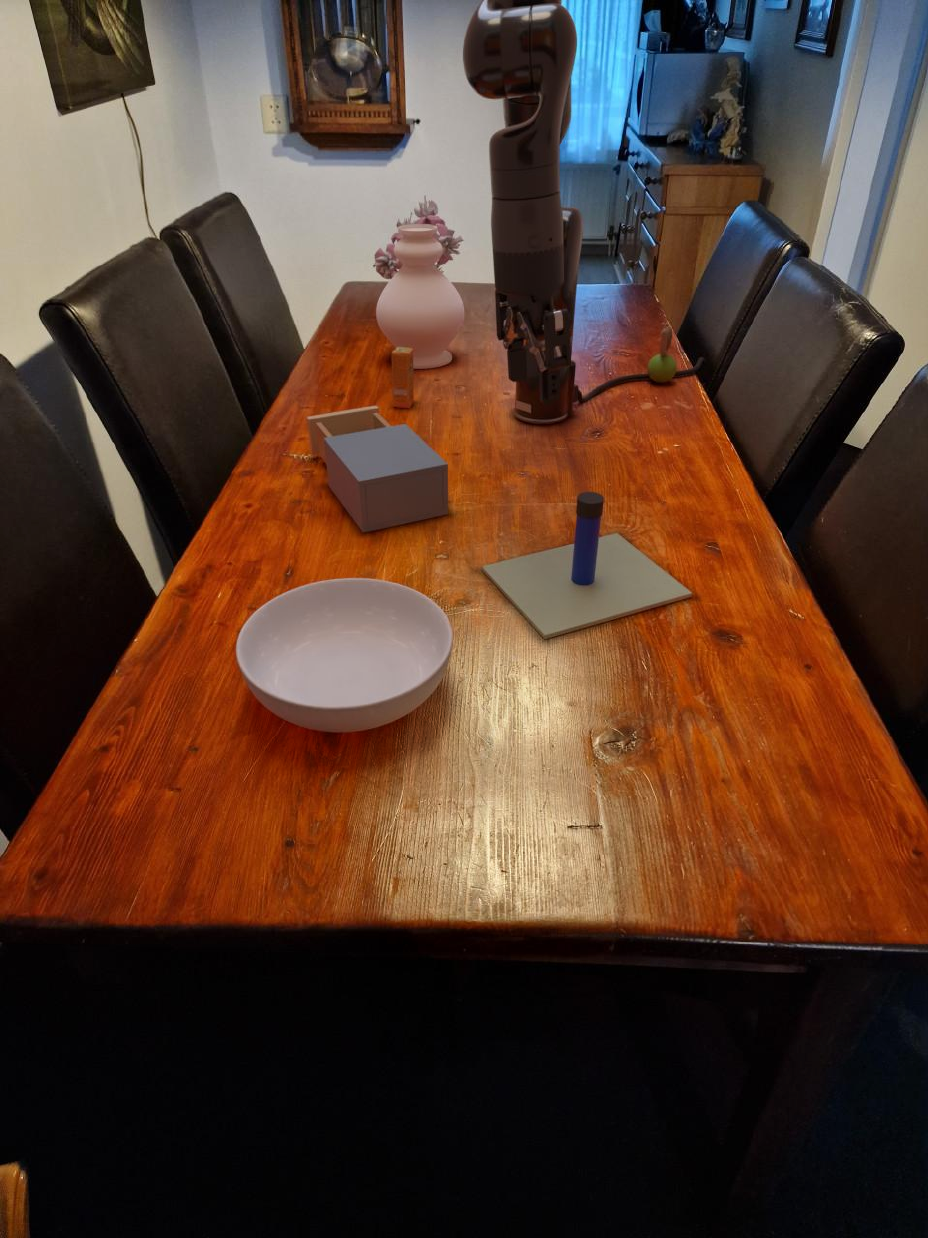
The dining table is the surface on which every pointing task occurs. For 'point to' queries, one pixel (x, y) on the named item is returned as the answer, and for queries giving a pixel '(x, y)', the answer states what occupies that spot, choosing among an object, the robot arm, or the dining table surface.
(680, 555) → the dining table surface
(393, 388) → the supplement box
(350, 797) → the dining table surface
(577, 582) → the flashlight
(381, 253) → the flower
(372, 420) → the drawer
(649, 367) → the green ball with stem
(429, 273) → the decorative vase
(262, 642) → the serving bowl
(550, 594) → the mat
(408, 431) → the cabinet
